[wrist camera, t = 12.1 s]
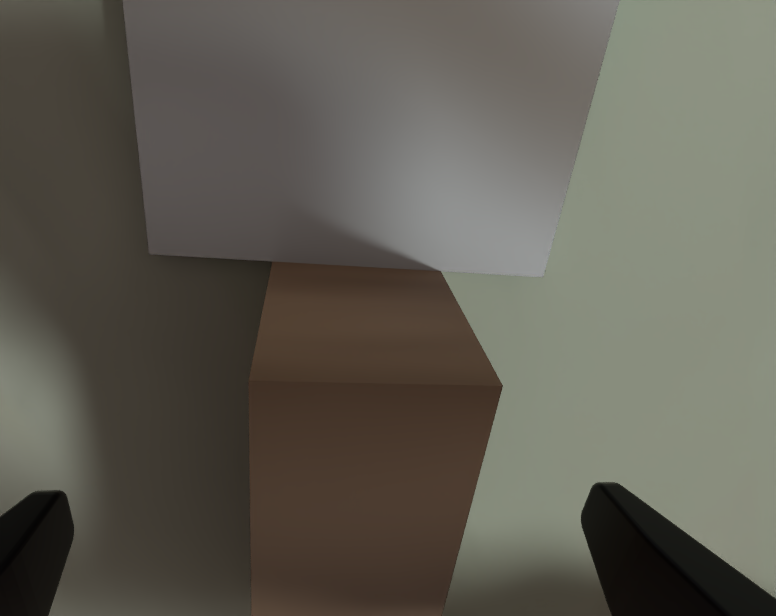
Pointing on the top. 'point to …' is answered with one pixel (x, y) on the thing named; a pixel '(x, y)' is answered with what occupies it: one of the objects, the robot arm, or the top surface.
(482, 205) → the turner
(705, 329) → the top surface
